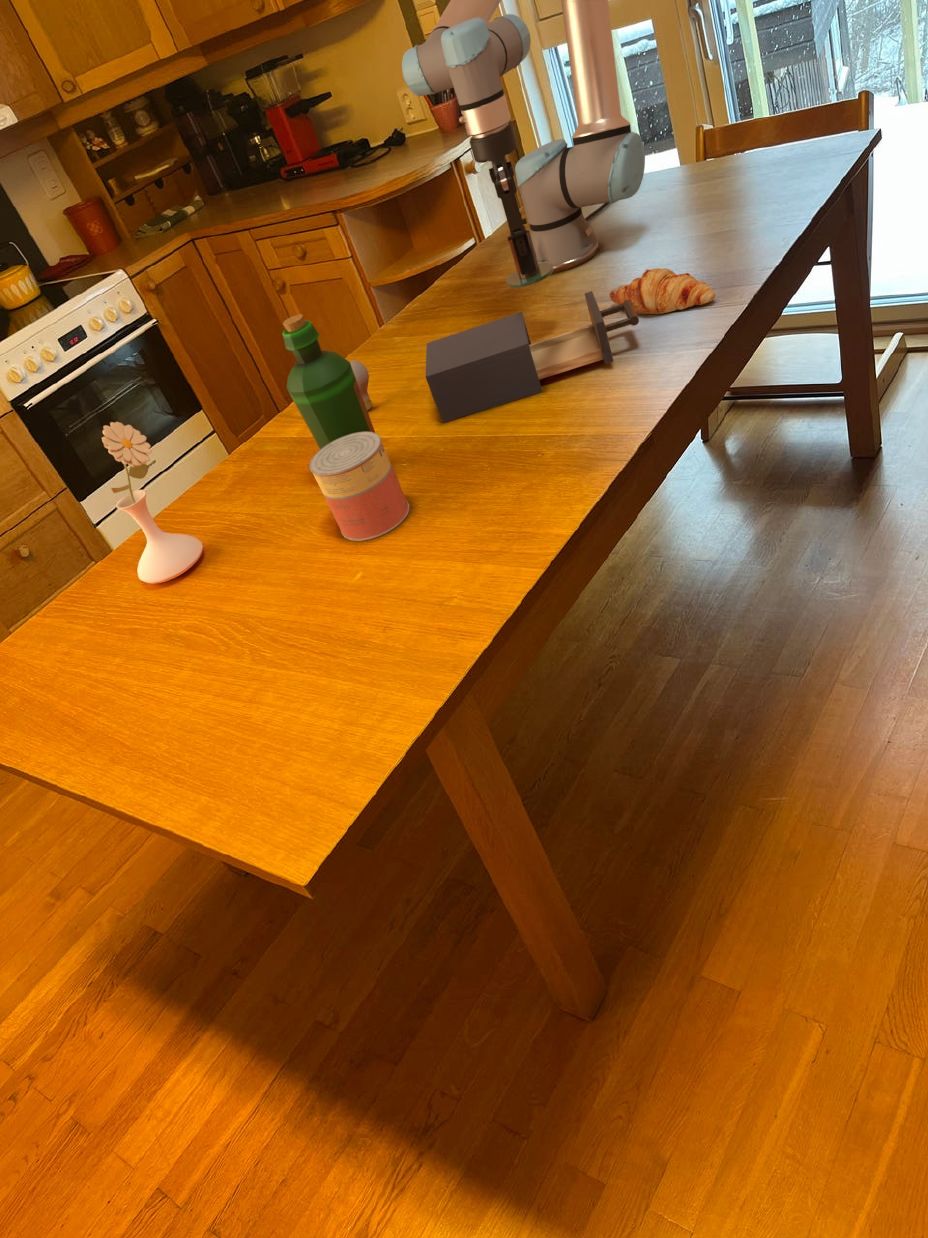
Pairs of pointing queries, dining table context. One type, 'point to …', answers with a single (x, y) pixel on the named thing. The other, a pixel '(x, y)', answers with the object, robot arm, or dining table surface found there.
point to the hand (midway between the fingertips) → (527, 267)
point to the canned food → (360, 486)
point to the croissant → (663, 292)
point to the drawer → (580, 341)
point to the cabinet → (481, 368)
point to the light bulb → (362, 381)
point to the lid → (533, 277)
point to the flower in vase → (163, 550)
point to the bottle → (323, 386)
